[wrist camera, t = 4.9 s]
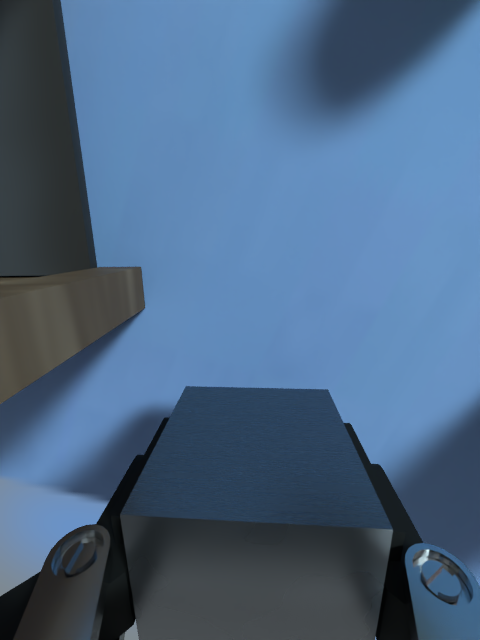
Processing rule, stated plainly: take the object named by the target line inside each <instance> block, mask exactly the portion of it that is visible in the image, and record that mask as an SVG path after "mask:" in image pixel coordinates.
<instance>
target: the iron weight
mask: <svg viewBox="0 0 480 640" xmlns="http://www.w3.org/2000/svg"><path fill="white" fill-rule="evenodd" d="M120 519H121V525H122V532H123V538H124V545H125V551H126V558H127V564H128V571H129V577H130V584H131V590H132V597H133V603H134V610H135V616H136V623H137V629H138V636H139V640H375V635H376V629H377V624H378V618H379V612H380V606H381V600H382V594H383V588H384V582H385V576H386V570H387V564H388V558H389V552H390V546H391V540H392V534H393V528H392V526H391V524H390V522H389V520H388V517H387V515H386V513H385V511H384V509H383V507H382V505H381V502H380V500H379V498H378V496H377V494H376V492H375V490H374V487H373V485H372V483H371V481H370V479H369V477H368V475H367V472H366V470H365V468H364V466H363V464H362V462H361V460H360V457H359V455H358V453H357V451H356V449H355V447H354V445H353V442H352V440H351V438H350V436H349V434H348V432H347V430H346V427H345V425H344V423H343V421H342V419H341V417H340V415H339V412H338V410H337V408H336V406H335V404H334V402H333V400H332V397H331V395H330V393H329V391H328V390H322V389H278V388H234V387H190V386H186V387H185V389H184V391H183V393H182V395H181V397H180V399H179V401H178V403H177V405H176V407H175V409H174V411H173V413H172V414H171V416H170V418H169V420H168V422H167V424H166V426H165V428H164V430H163V432H162V434H161V436H160V438H159V440H158V442H157V444H156V446H155V448H154V449H153V451H152V453H151V455H150V457H149V459H148V461H147V463H146V465H145V467H144V469H143V471H142V473H141V475H140V477H139V479H138V481H137V483H136V484H135V486H134V488H133V490H132V492H131V494H130V496H129V498H128V500H127V502H126V504H125V506H124V508H123V510H122V512H121V514H120Z"/></svg>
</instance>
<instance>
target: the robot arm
mask: <svg viewBox="0 0 480 640" xmlns="http://www.w3.org/2000/svg"><path fill="white" fill-rule="evenodd" d="M168 420H169V418H164V420H163V421H162V423H161V425H160V427H159V429H158V431H157V432H156V434H155V436H154V438H153V440H152V442H151V443H150V445H149V447H148V449H147V451H146V453H145V454H144V455H137V456H136V457H135V459H134V460H133V462H132V464H131V465H130V467H129V469H128V470H127V472H126V474H125V476H124V477H123V479H122V481H121V482H120V484H119V486H118V488H117V489H116V491H115V493H114V494H113V496H112V498H111V500H110V501H109V503H108V505H107V507H106V508H105V510H104V512H103V513H102V515H101V517H100V519H99V520H98V522H97V524H94V525H85V526H82V527H79V528H77V529H75V530H73V531H71V532H69V533H68V534H66V535H65V536H64V537H63V538H62V539H60V540H59V541H58V542H57V543H56V545H55V546H54V547H53V548H52V549H51V551H50V553H49V554H48V556H47V558H46V560H45V562H44V565H43V567H42V570H41V572H39V573H37V574H36V575H35V576H33V577H31V578H29V579H28V580H26V581H25V582H23V583H21V584H20V585H18V586H16V587H15V588H13V589H12V590H10V591H8V592H7V593H5V594H3V595H2V596H0V640H124V635H125V632H126V631H127V630H128V629H129V628H130V627H131V626H132V625H134V622H135V619H136V616H135V610H134V603H133V597H132V590H131V584H130V577H129V571H128V564H127V558H126V551H125V545H124V538H123V532H122V525H121V519H120V514H121V512H122V510H123V508H124V506H125V504H126V502H127V500H128V498H129V496H130V494H131V492H132V490H133V488H134V486H135V484H136V483H137V481H138V479H139V477H140V475H141V473H142V471H143V469H144V467H145V465H146V463H147V461H148V459H149V457H150V455H151V453H152V451H153V449H154V448H155V446H156V444H157V442H158V440H159V438H160V436H161V434H162V432H163V430H164V428H165V426H166V424H167V422H168ZM344 425H345V427H346V430H347V432H348V434H349V436H350V438H351V440H352V442H353V445H354V447H355V449H356V451H357V453H358V455H359V457H360V460H361V462H362V464H363V466H364V468H365V470H366V472H367V475H368V477H369V479H370V481H371V483H372V485H373V487H374V490H375V492H376V494H377V496H378V498H379V500H380V502H381V505H382V507H383V509H384V511H385V513H386V515H387V517H388V520H389V522H390V524H391V526H392V528H393V534H392V540H391V546H390V552H389V558H388V564H387V570H386V576H385V582H384V588H383V594H382V600H381V606H380V612H379V618H378V624H377V629H376V635H375V636H376V639H377V640H480V586H479V585H478V583H477V581H476V579H475V577H474V576H473V574H472V573H471V572H470V571H469V569H468V568H467V567H466V566H465V565H464V564H463V563H462V562H461V561H460V560H459V559H457V558H456V557H455V556H454V555H452V554H451V553H449V552H447V551H446V550H444V549H442V548H440V547H437V546H435V545H432V544H426V543H423V542H422V540H421V538H420V536H419V534H418V532H417V531H416V529H415V527H414V525H413V523H412V521H411V520H410V518H409V516H408V514H407V512H406V510H405V509H404V507H403V505H402V503H401V501H400V499H399V498H398V496H397V494H396V492H395V490H394V488H393V487H392V485H391V483H390V481H389V479H388V477H387V476H386V474H385V472H384V470H383V469H382V467H381V466H380V465H379V464H371V463H370V461H369V459H368V457H367V455H366V453H365V451H364V449H363V447H362V445H361V443H360V441H359V439H358V437H357V435H356V433H355V431H354V429H353V427H352V425H351V424H350V423H344Z"/></svg>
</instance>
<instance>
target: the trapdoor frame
mask: <svg viewBox="0 0 480 640" xmlns="http://www.w3.org/2000/svg"><path fill="white" fill-rule="evenodd" d="M39 275H48V276H39ZM0 276H27V277H0V404H1V403H3V402H4V401H6V400H7V399H9V398H10V397H12V396H13V395H15V394H16V393H18V392H19V391H21V390H22V389H24V388H25V387H27V386H28V385H30V384H31V383H33V382H34V381H36V380H37V379H39V378H40V377H42V376H43V375H45V374H46V373H48V372H49V371H51V370H52V369H54V368H55V367H57V366H58V365H60V364H61V363H63V362H64V361H66V360H67V359H69V358H70V357H72V356H73V355H75V354H76V353H78V352H79V351H81V350H82V349H84V348H85V347H87V346H88V345H90V344H91V343H93V342H94V341H96V340H97V339H99V338H100V337H102V336H103V335H105V334H106V333H108V332H109V331H111V330H113V329H114V328H116V327H117V326H119V325H120V324H122V323H123V322H125V321H126V320H128V319H129V318H131V317H132V316H134V315H135V314H137V313H138V312H140V311H141V310H143V309H144V308H145V302H144V291H143V281H142V271H141V267H98V268H97V263H96V256H95V248H94V241H93V234H92V227H91V219H90V212H89V205H88V197H87V190H86V183H85V176H84V168H83V161H82V154H81V147H80V139H79V132H78V125H77V118H76V110H75V103H74V96H73V89H72V81H71V74H70V67H69V60H68V52H67V45H66V38H65V31H64V23H63V16H62V9H61V1H60V0H0Z"/></svg>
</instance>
